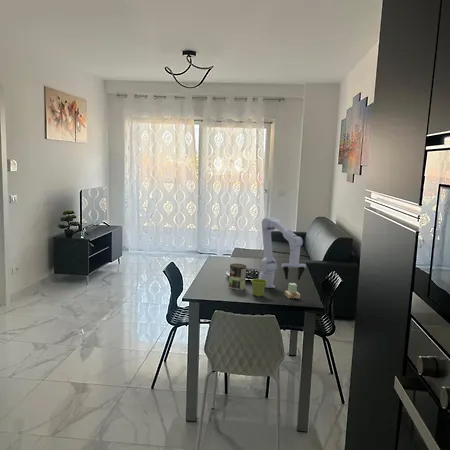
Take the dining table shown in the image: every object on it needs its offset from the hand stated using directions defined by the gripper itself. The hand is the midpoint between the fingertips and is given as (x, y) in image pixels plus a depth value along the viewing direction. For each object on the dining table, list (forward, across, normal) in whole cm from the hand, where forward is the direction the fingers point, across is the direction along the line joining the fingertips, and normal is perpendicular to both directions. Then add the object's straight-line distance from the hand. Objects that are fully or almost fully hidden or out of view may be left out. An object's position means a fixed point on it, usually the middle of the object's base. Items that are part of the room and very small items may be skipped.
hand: (292, 279), depth 256 cm
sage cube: (+8, 0, -1) cm, 8 cm away
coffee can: (+11, -30, +16) cm, 36 cm away
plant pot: (+11, -20, +1) cm, 23 cm away
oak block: (+11, 0, -2) cm, 11 cm away
